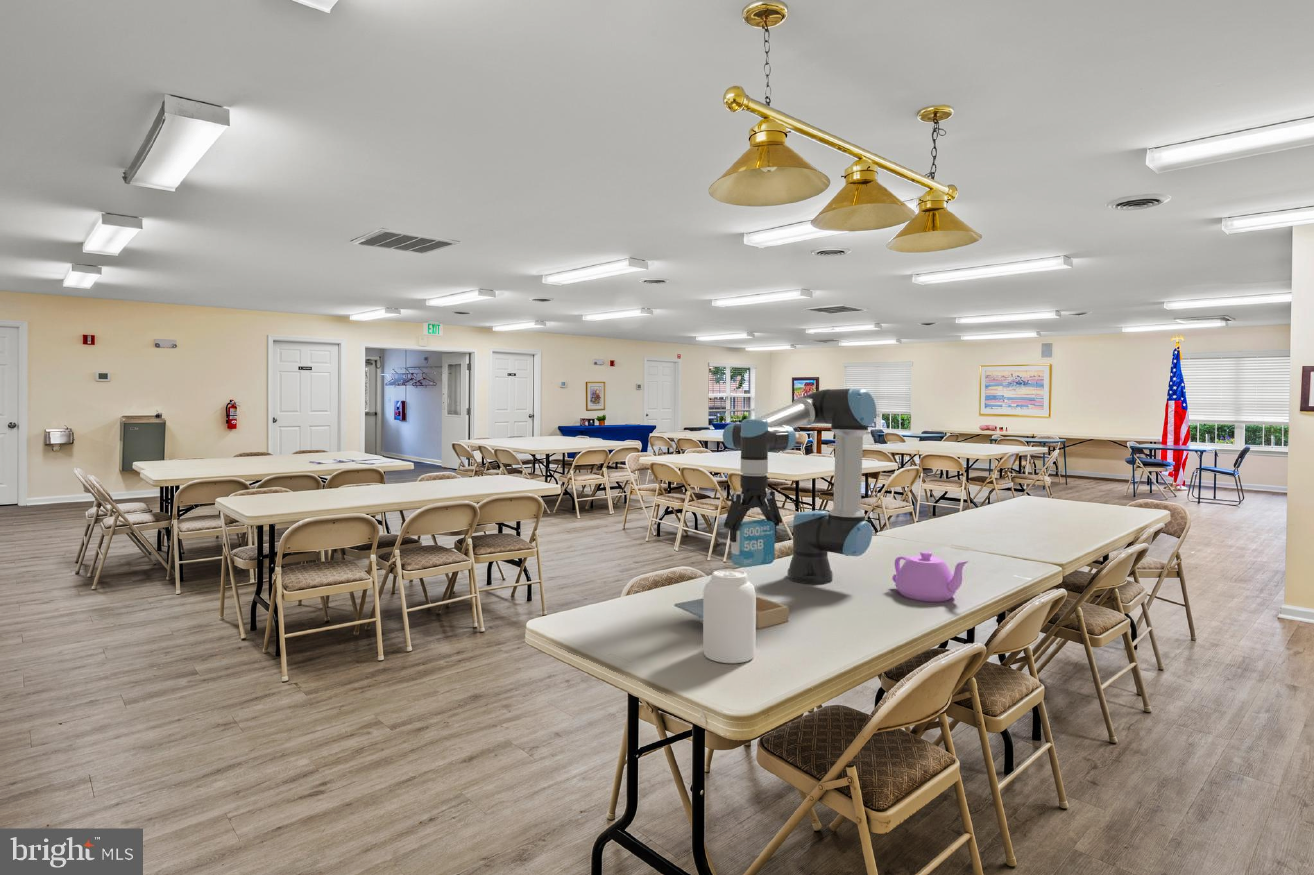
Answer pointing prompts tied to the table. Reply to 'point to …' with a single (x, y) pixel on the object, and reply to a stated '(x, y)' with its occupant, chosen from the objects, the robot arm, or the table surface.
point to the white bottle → (729, 617)
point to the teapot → (927, 578)
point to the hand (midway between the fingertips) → (753, 551)
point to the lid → (692, 607)
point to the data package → (755, 543)
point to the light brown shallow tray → (770, 612)
